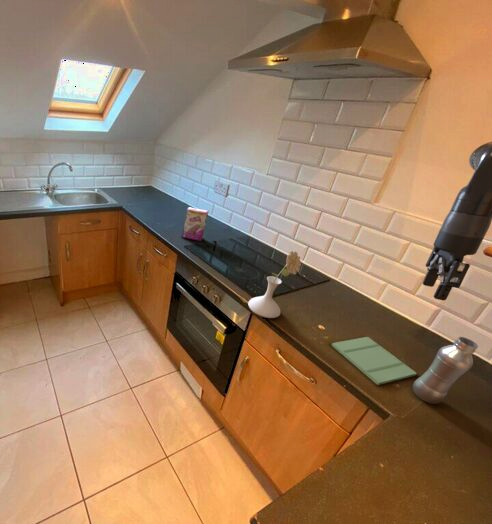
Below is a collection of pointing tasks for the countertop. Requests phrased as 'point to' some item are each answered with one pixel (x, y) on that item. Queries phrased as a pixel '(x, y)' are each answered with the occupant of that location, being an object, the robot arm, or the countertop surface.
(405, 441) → the countertop surface
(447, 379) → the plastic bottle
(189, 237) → the pink beige food bag
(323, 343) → the countertop surface
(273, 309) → the flower in vase
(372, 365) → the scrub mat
